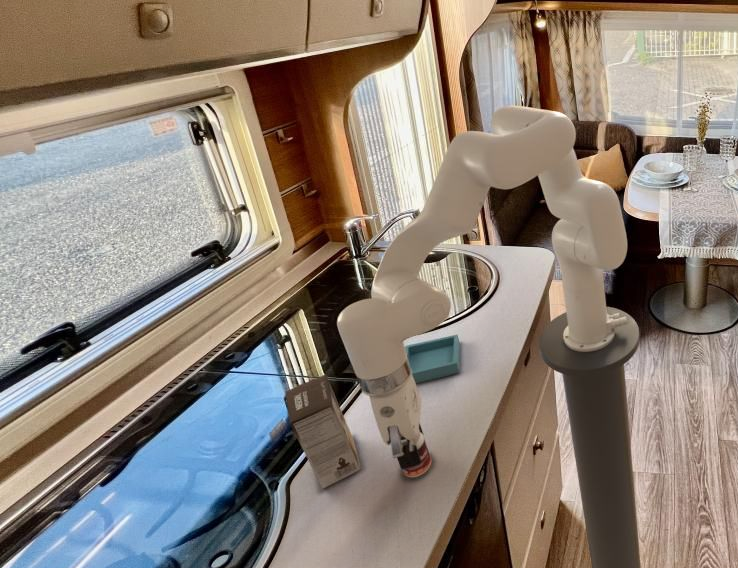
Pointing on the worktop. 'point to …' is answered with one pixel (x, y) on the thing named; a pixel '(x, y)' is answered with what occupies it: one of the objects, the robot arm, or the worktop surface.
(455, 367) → the medicine tray
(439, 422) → the worktop surface
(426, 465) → the pill bottle
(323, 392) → the coffee box
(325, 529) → the worktop surface
